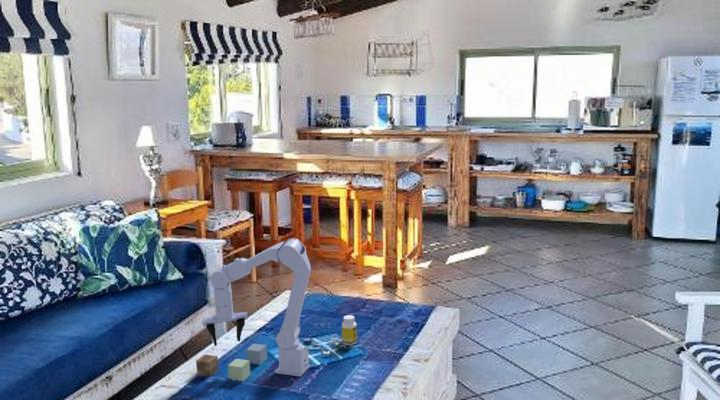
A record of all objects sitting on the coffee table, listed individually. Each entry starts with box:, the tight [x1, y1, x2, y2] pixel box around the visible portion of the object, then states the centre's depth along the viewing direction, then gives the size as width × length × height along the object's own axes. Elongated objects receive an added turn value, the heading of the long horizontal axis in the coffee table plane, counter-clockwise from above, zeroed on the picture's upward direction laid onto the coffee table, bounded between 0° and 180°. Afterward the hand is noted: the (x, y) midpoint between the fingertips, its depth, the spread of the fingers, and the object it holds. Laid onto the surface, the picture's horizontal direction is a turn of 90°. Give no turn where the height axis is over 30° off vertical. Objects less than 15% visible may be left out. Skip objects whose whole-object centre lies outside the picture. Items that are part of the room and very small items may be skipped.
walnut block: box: [195, 354, 219, 378], centre depth 205 cm, size 5×5×5 cm
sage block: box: [227, 358, 251, 382], centre depth 202 cm, size 5×5×5 cm
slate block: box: [245, 343, 268, 366], centre depth 213 cm, size 5×5×5 cm
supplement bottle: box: [341, 314, 358, 346], centre depth 224 cm, size 5×5×10 cm
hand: (227, 342), depth 206 cm, fingers open, 7 cm apart
